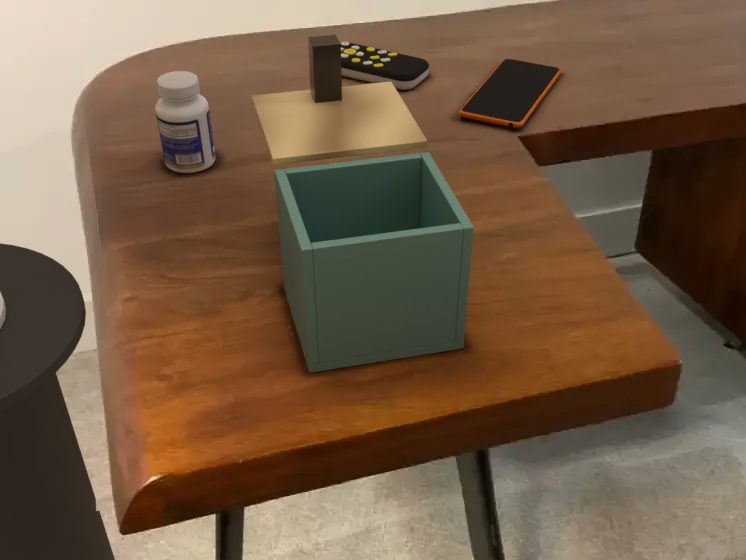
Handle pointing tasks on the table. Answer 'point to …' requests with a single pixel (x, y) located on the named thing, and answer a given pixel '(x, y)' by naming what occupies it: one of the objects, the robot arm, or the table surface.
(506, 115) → the smartphone
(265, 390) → the table surface
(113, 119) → the table surface
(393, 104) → the slide lid
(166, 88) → the pill bottle
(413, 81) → the remote control
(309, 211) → the box
